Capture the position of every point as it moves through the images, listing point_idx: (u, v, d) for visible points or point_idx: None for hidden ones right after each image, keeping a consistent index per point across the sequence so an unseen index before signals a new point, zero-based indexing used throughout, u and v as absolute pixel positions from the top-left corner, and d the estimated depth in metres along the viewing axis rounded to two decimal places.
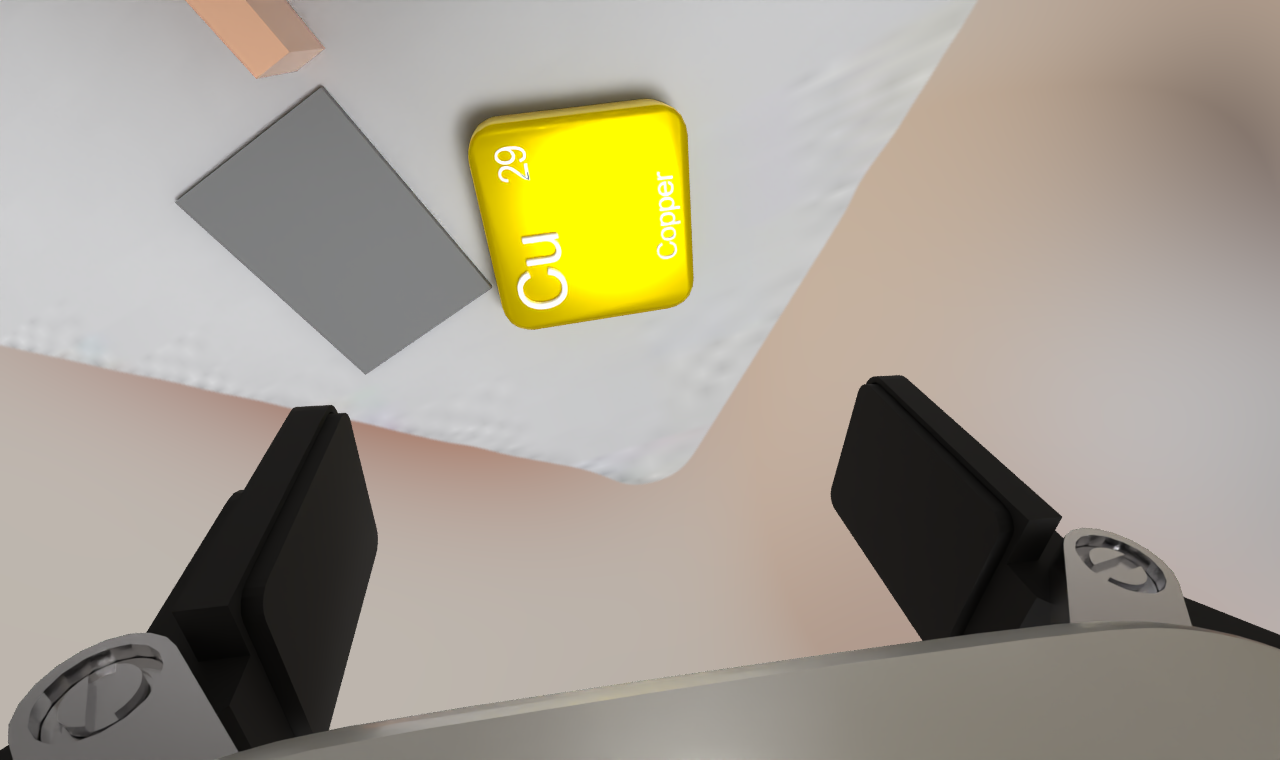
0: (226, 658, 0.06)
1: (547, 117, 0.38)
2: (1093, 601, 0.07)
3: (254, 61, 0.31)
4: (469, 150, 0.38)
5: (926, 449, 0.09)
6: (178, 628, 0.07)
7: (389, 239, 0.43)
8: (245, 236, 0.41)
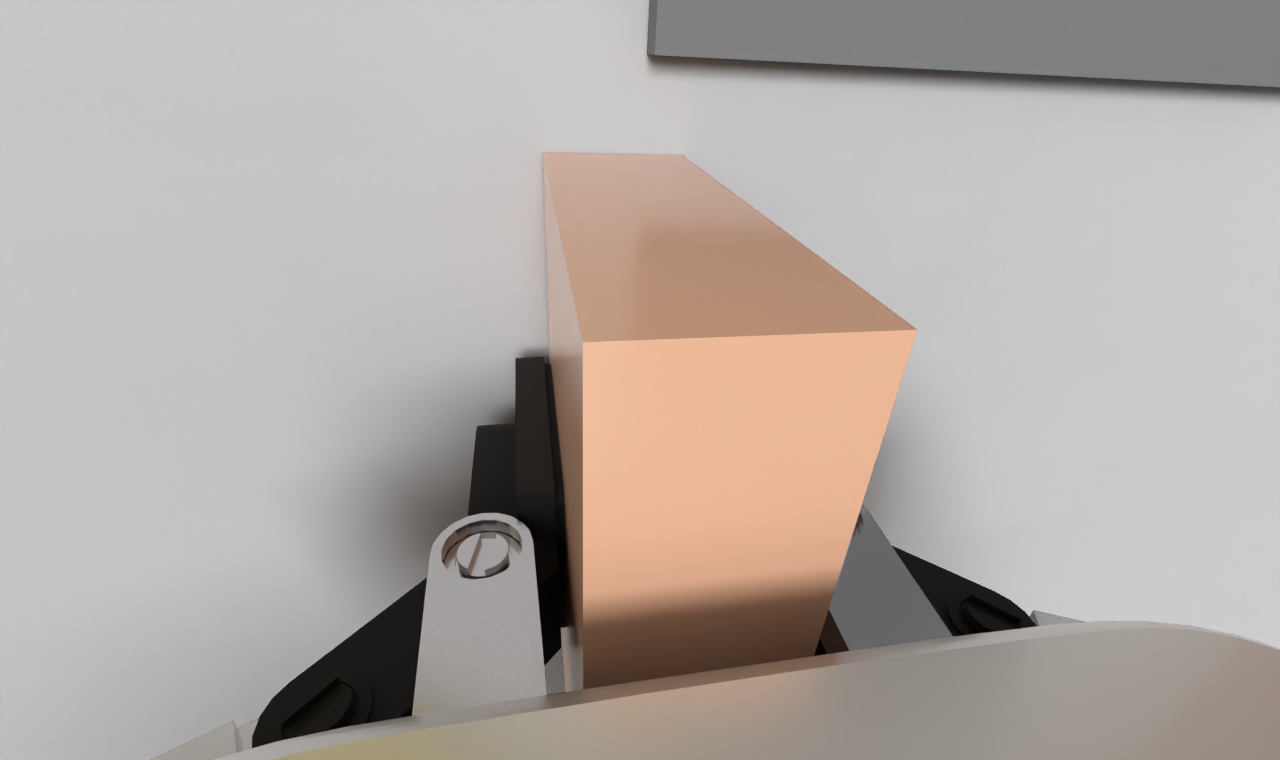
0: (539, 538, 0.08)
1: None
2: None
3: (825, 406, 0.04)
4: None
5: None
6: None
7: None
8: None
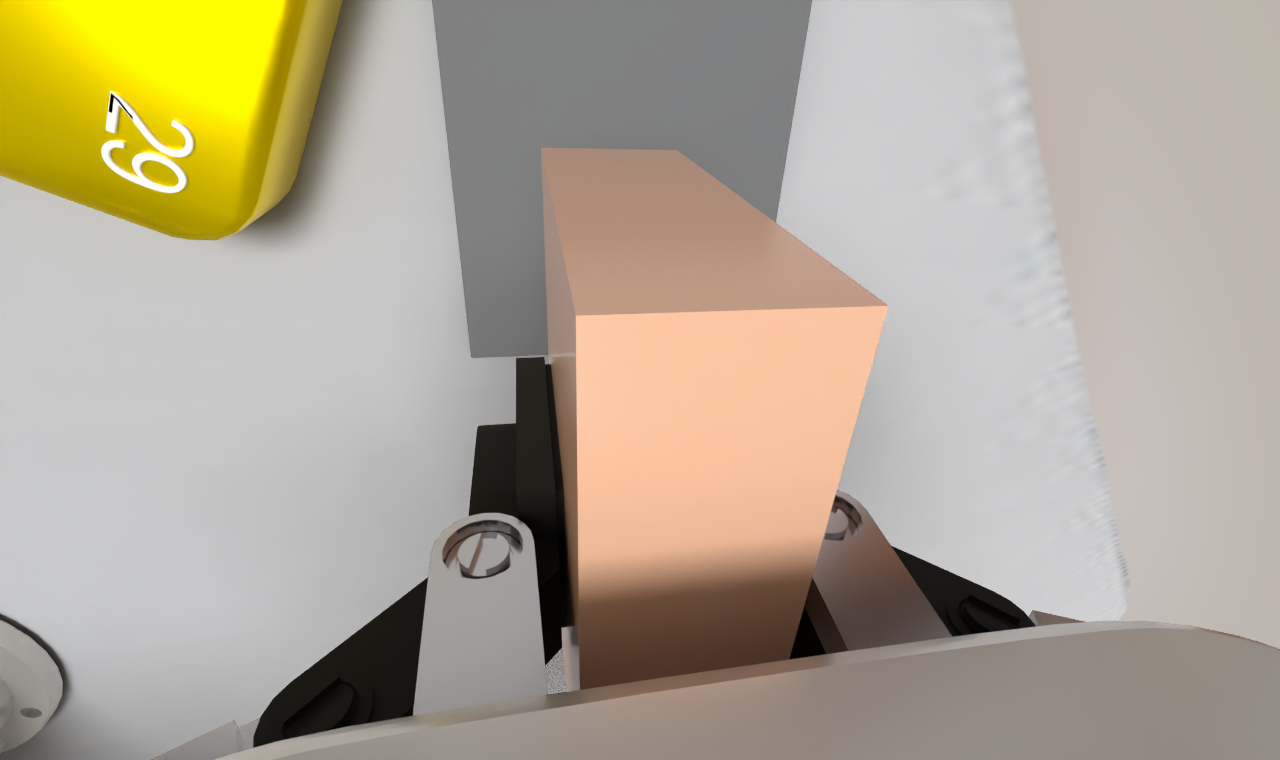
0: (541, 538, 0.08)
1: (24, 183, 0.17)
2: (829, 569, 0.07)
3: (803, 379, 0.05)
4: (245, 220, 0.18)
5: None
6: None
7: (546, 115, 0.21)
8: None
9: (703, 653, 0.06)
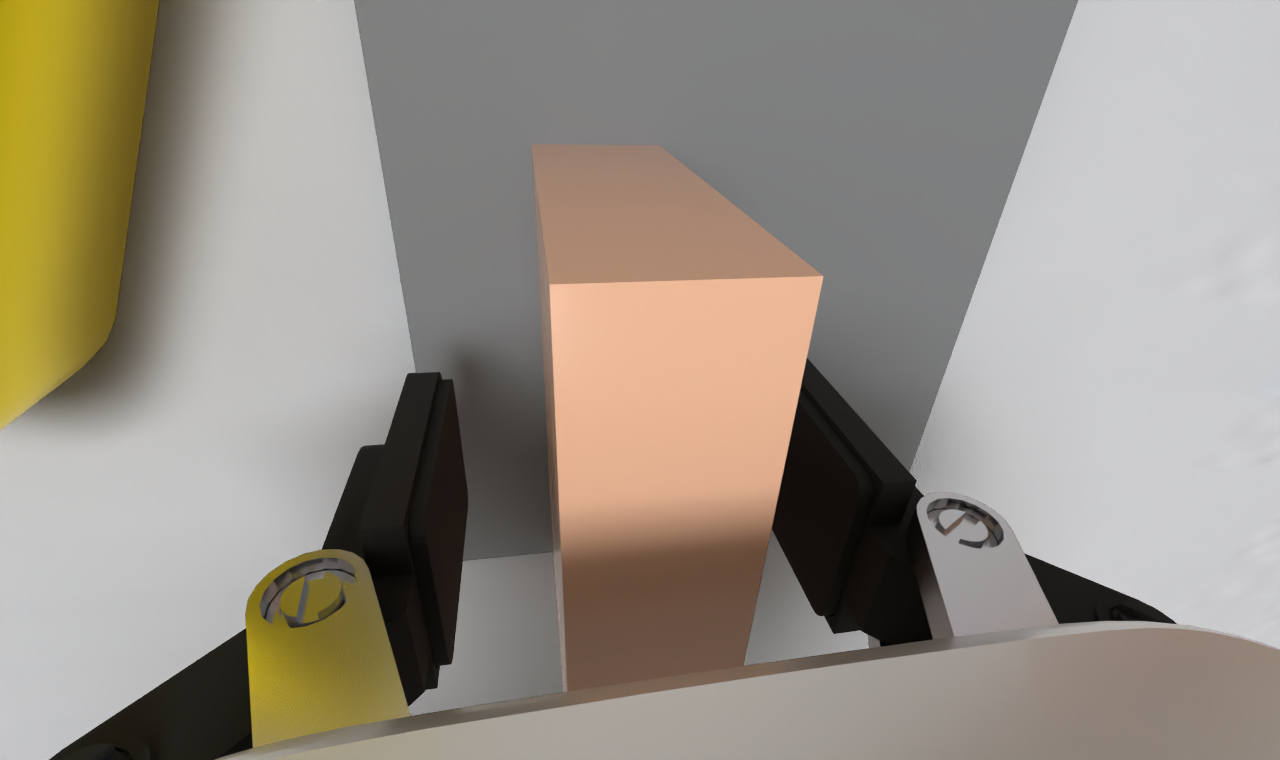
0: (393, 575, 0.07)
1: None
2: (955, 568, 0.07)
3: (752, 341, 0.05)
4: None
5: (810, 422, 0.10)
6: None
7: None
8: (875, 409, 0.15)
9: (676, 598, 0.07)
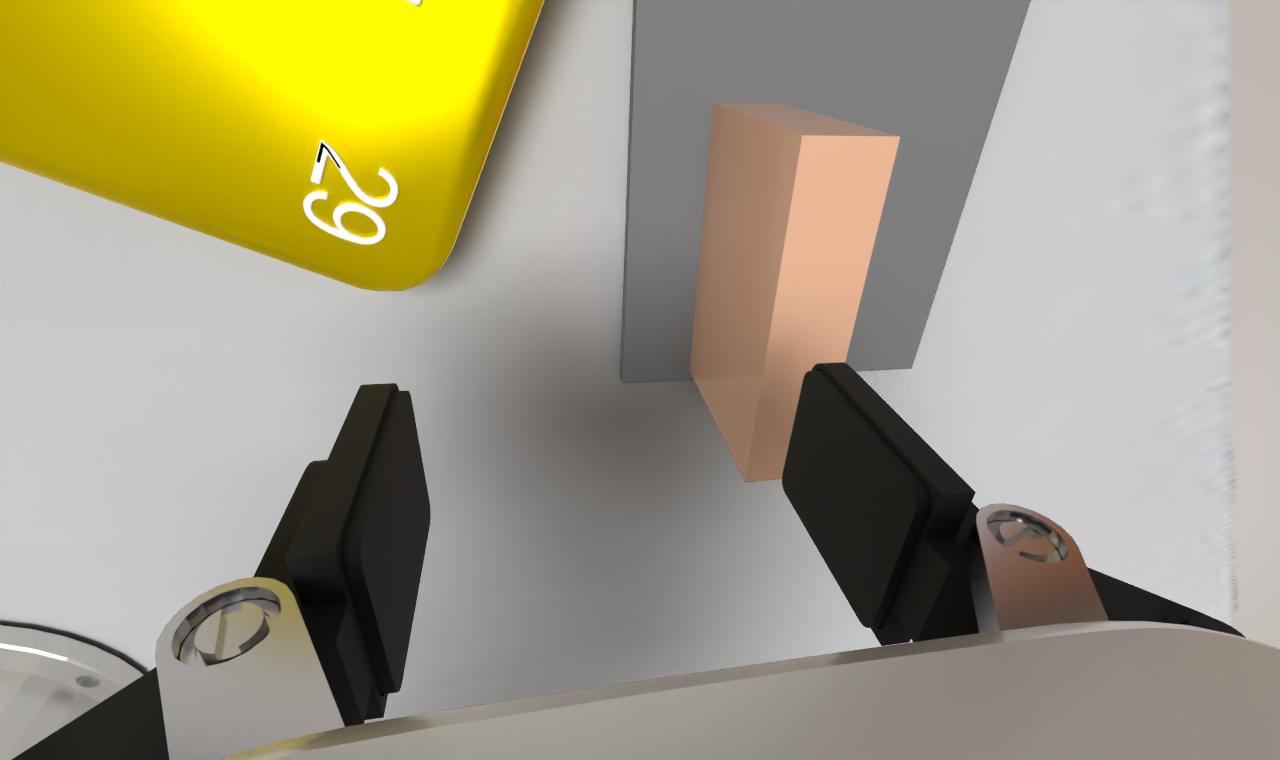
0: (327, 603, 0.07)
1: (217, 237, 0.16)
2: (1010, 578, 0.07)
3: (871, 164, 0.14)
4: (436, 269, 0.17)
5: (858, 431, 0.09)
6: (279, 578, 0.07)
7: None
8: (901, 283, 0.24)
9: (823, 301, 0.15)
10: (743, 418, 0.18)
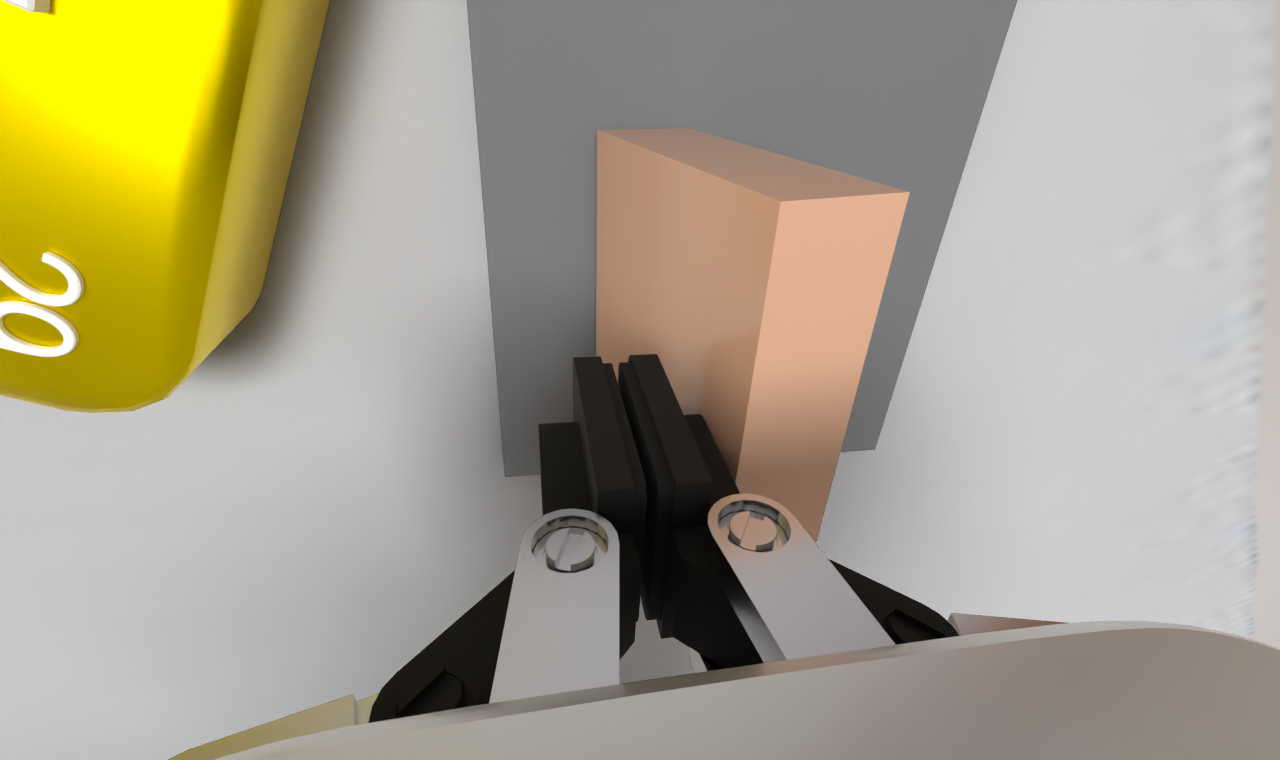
0: (617, 534, 0.08)
1: None
2: (765, 584, 0.07)
3: (871, 235, 0.09)
4: (176, 381, 0.12)
5: (636, 422, 0.09)
6: None
7: None
8: None
9: (805, 425, 0.11)
10: None
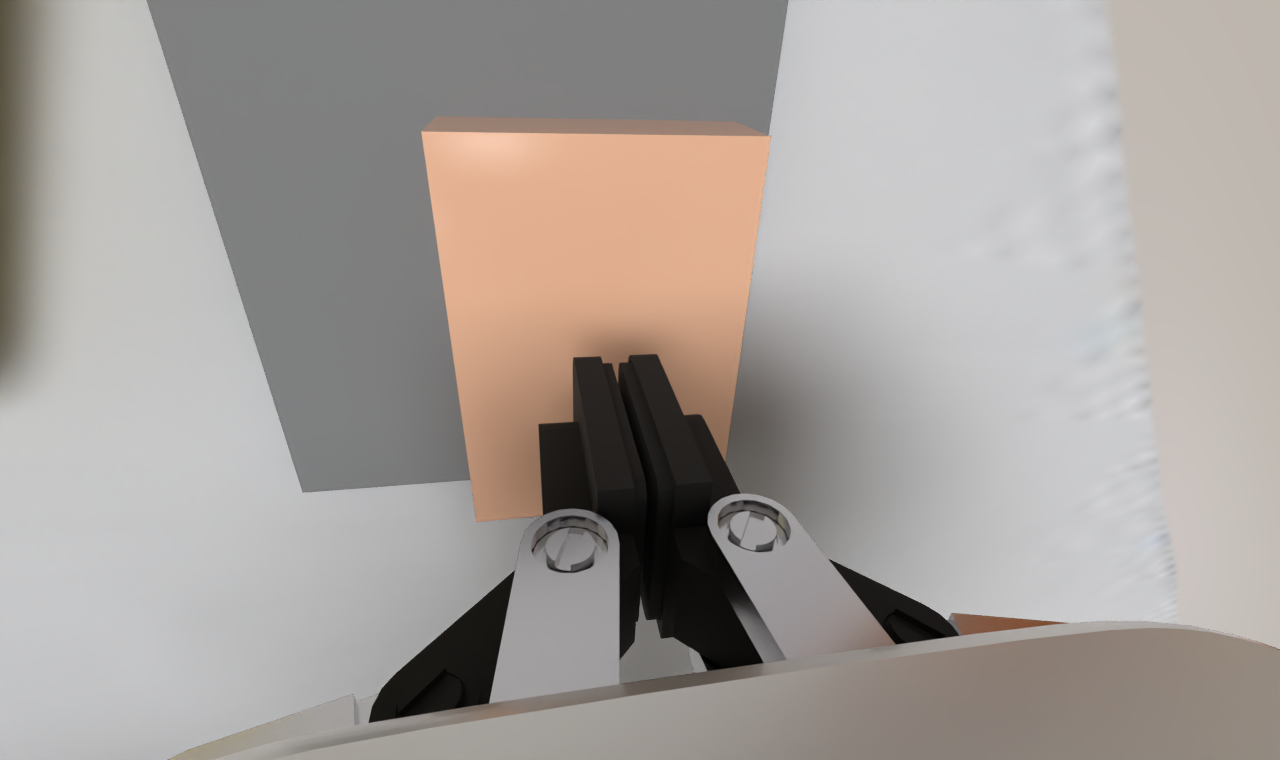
0: (617, 534, 0.08)
1: None
2: (765, 585, 0.07)
3: None
4: None
5: (637, 421, 0.09)
6: None
7: (368, 149, 0.13)
8: None
9: None
10: None
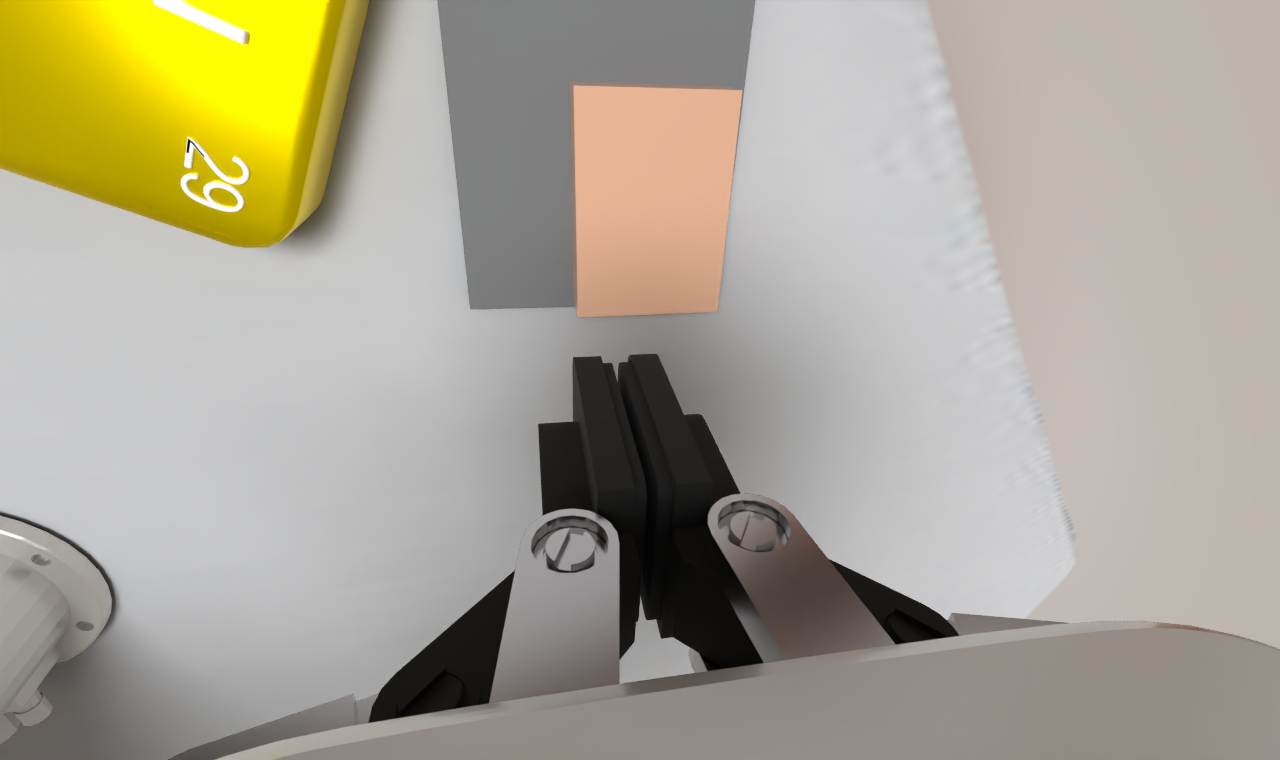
0: (617, 534, 0.08)
1: (123, 208, 0.22)
2: (765, 584, 0.07)
3: None
4: (288, 230, 0.23)
5: (636, 422, 0.09)
6: None
7: (532, 98, 0.25)
8: None
9: None
10: (704, 277, 0.28)
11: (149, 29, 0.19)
